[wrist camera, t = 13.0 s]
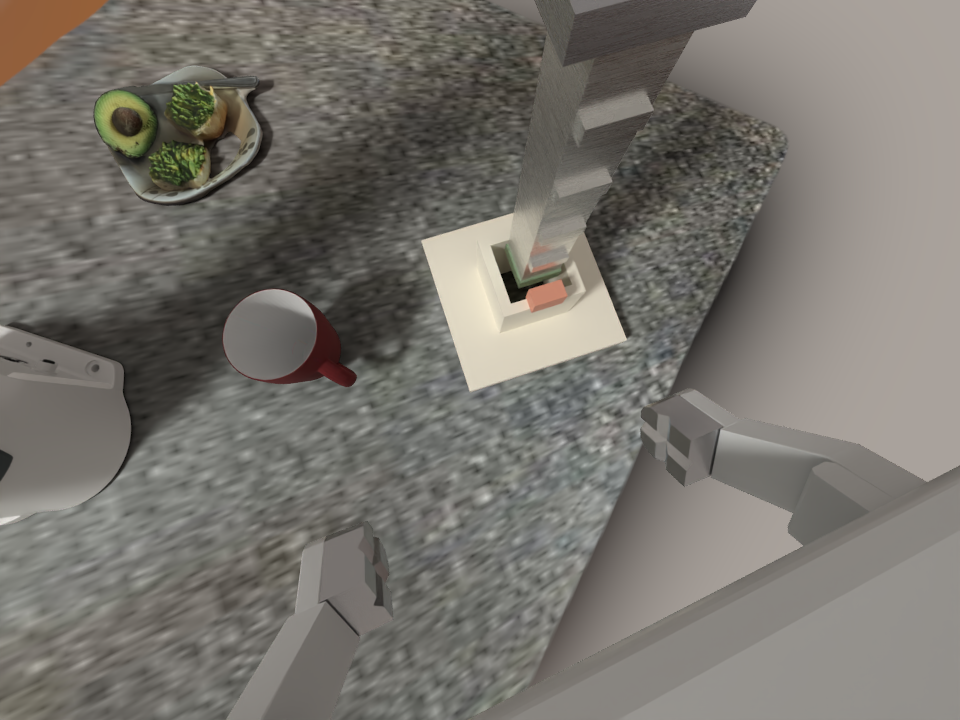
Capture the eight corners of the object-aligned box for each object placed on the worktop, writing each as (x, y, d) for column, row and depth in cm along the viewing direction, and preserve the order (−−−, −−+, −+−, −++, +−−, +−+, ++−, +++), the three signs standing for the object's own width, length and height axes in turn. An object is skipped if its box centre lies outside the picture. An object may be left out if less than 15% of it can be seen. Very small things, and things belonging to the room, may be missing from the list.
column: (506, 298, 33) (576, 17, 10) (490, 253, 34) (521, -108, 11) (571, 277, 33) (786, -39, 10) (554, 233, 34) (720, -157, 11)
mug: (389, 347, 40) (361, 325, 30) (354, 413, 39) (312, 411, 29) (307, 307, 41) (254, 272, 31) (270, 370, 40) (202, 355, 30)
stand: (470, 392, 40) (468, 384, 30) (423, 246, 42) (406, 194, 32) (621, 342, 41) (668, 319, 31) (566, 203, 43) (593, 140, 33)
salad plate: (237, 46, 47) (211, 6, 42) (303, 149, 44) (284, 118, 40) (97, 116, 45) (55, 82, 40) (159, 228, 43) (122, 205, 38)
